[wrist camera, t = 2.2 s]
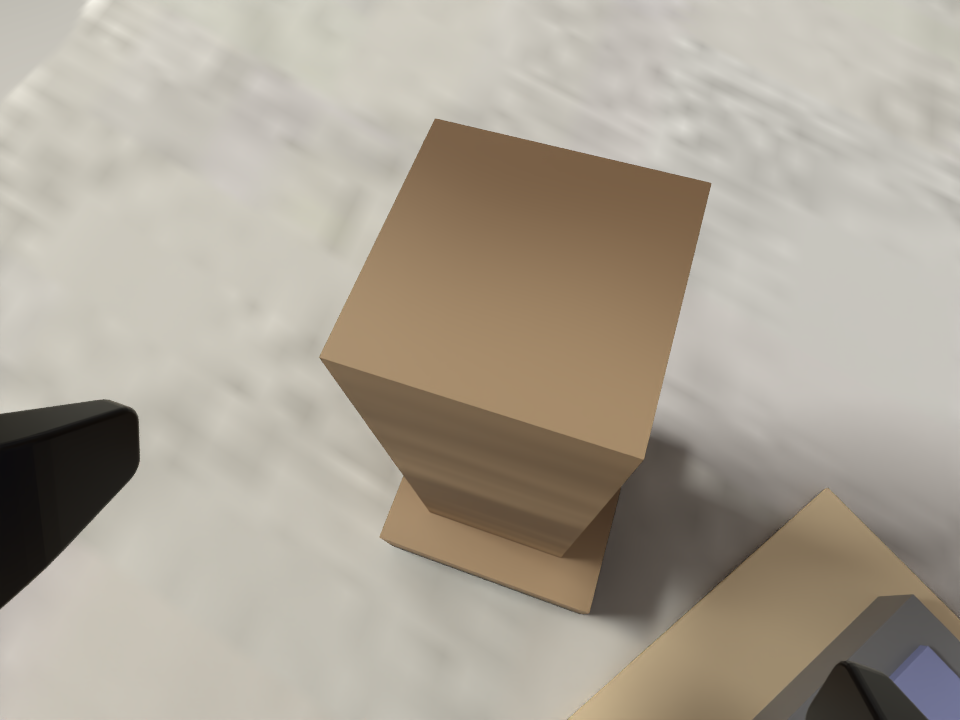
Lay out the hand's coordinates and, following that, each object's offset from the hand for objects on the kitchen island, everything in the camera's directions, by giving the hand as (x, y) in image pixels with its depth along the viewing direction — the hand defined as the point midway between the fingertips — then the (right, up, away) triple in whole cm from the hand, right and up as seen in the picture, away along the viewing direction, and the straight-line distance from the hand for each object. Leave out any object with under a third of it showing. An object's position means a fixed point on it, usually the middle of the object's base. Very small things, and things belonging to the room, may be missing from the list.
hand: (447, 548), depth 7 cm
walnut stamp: (+1, -1, +10) cm, 11 cm away
